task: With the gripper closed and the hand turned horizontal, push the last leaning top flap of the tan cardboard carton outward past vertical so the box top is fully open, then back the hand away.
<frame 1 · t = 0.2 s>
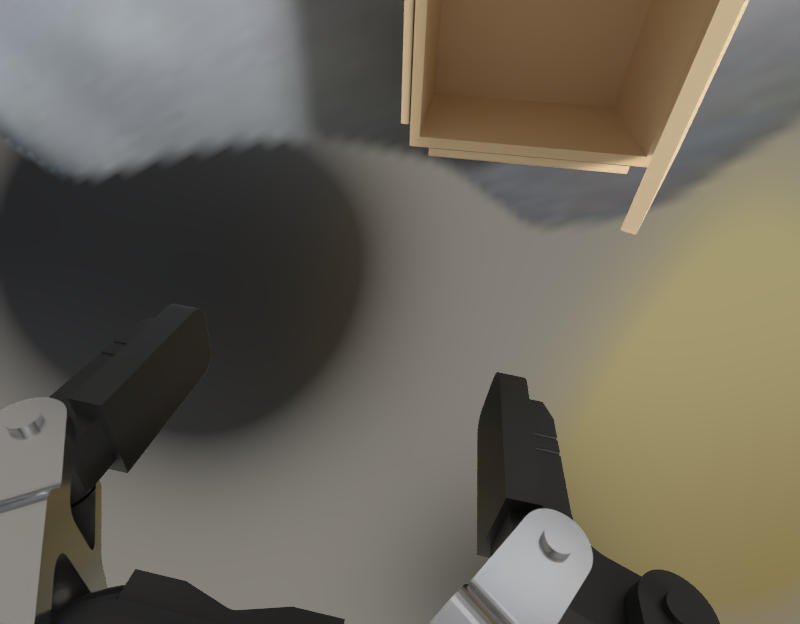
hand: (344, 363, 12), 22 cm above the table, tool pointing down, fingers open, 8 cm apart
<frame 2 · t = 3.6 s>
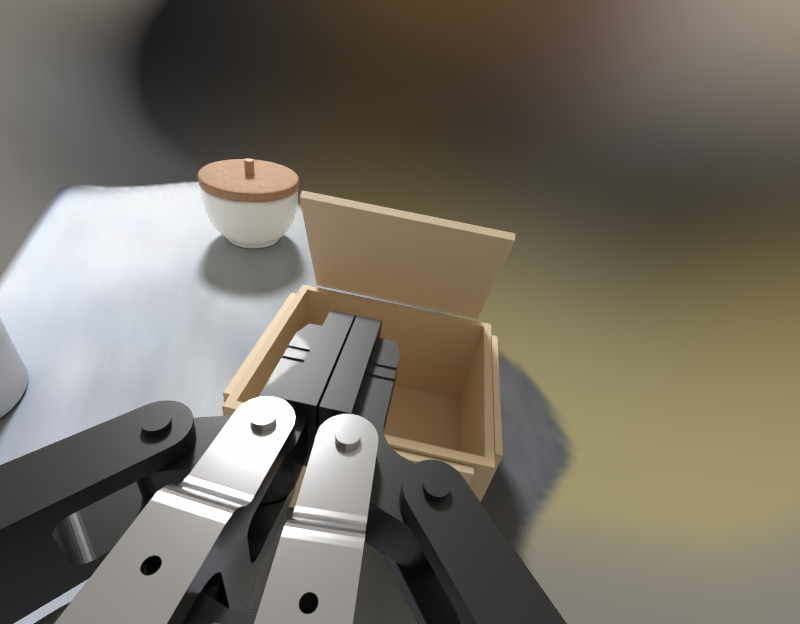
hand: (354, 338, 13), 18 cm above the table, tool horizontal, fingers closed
lidded jar: (253, 238, 52), on the table
carton: (367, 439, 31), on the table
flap: (401, 263, 27), point 12 cm above the table, hinge at 25.0°
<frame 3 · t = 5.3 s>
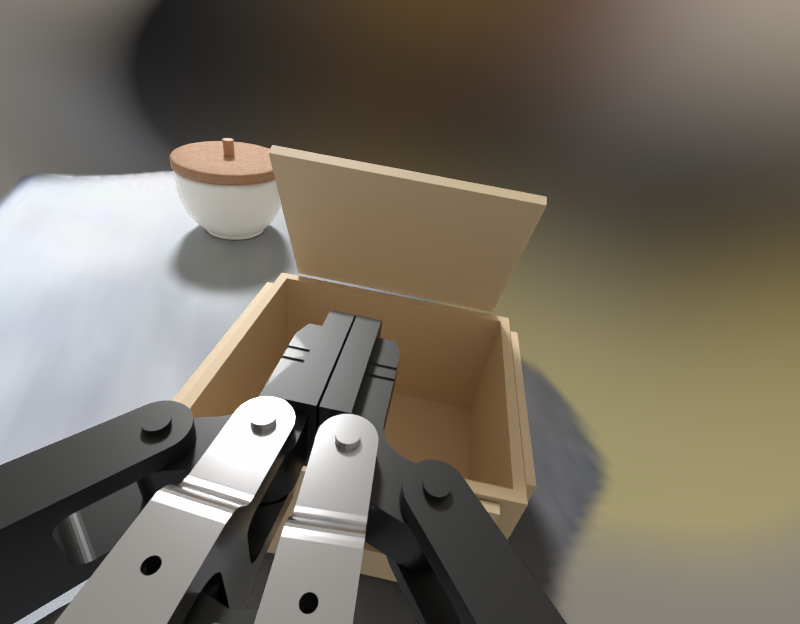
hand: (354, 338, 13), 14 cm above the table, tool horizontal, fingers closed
lidded jar: (235, 229, 47), on the table
carton: (360, 458, 25), on the table
flap: (399, 241, 22), point 12 cm above the table, hinge at 25.0°
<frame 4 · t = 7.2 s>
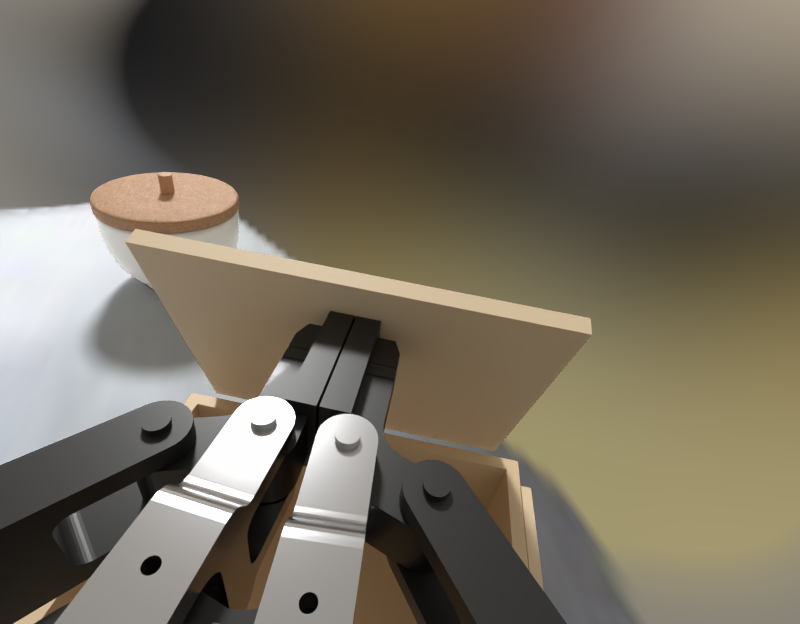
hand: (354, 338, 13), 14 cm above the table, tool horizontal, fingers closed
lidded jar: (182, 277, 39), on the table
flap: (355, 365, 14), point 12 cm above the table, hinge at 19.0°, touching gripper
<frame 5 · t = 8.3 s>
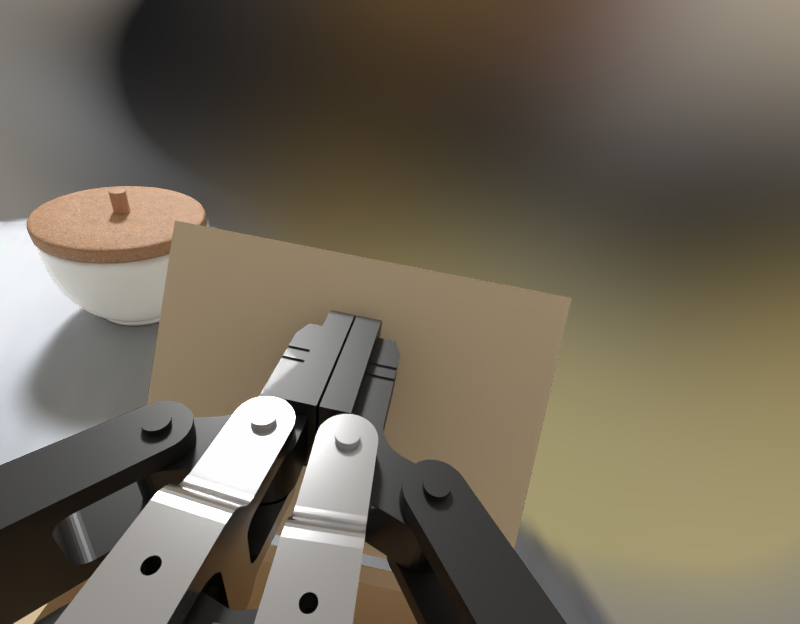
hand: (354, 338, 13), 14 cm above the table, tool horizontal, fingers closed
lidded jar: (145, 304, 35), on the table
flap: (343, 402, 13), point 12 cm above the table, hinge at -30.9°, touching gripper
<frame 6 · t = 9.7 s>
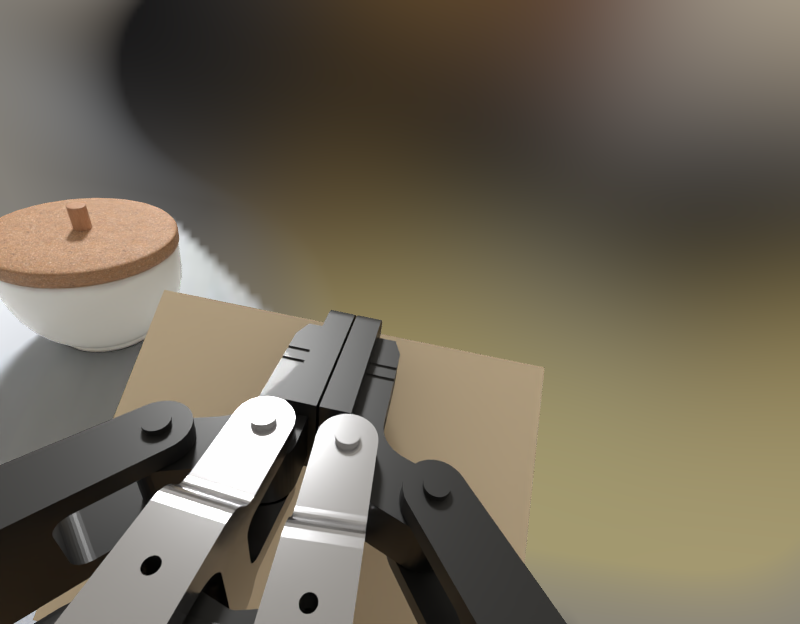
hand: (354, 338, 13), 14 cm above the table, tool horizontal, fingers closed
lidded jar: (114, 327, 32), on the table
flap: (314, 481, 12), point 11 cm above the table, hinge at -52.8°, touching gripper
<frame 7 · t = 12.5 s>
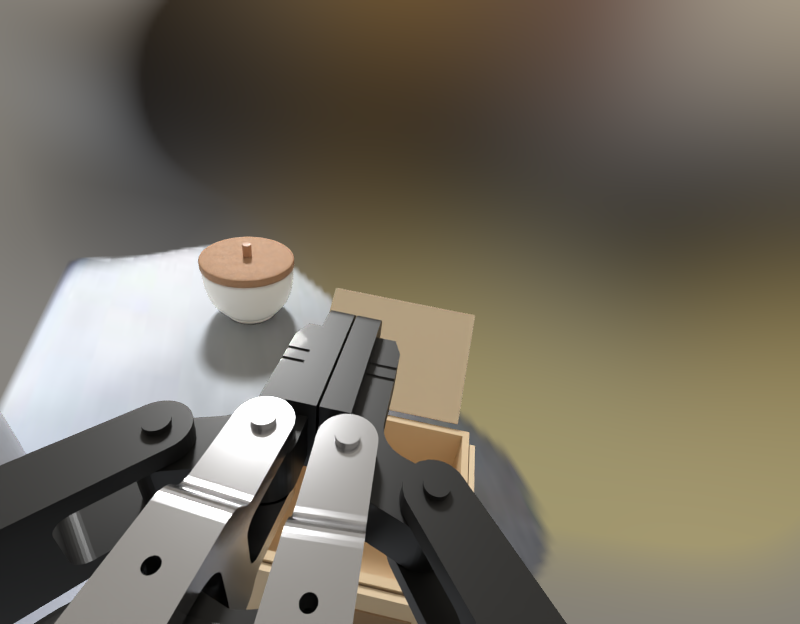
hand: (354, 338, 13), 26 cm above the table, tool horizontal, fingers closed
lidded jar: (252, 310, 55), on the table
carton: (355, 540, 33), on the table
flap: (393, 353, 35), point 11 cm above the table, hinge at -52.8°
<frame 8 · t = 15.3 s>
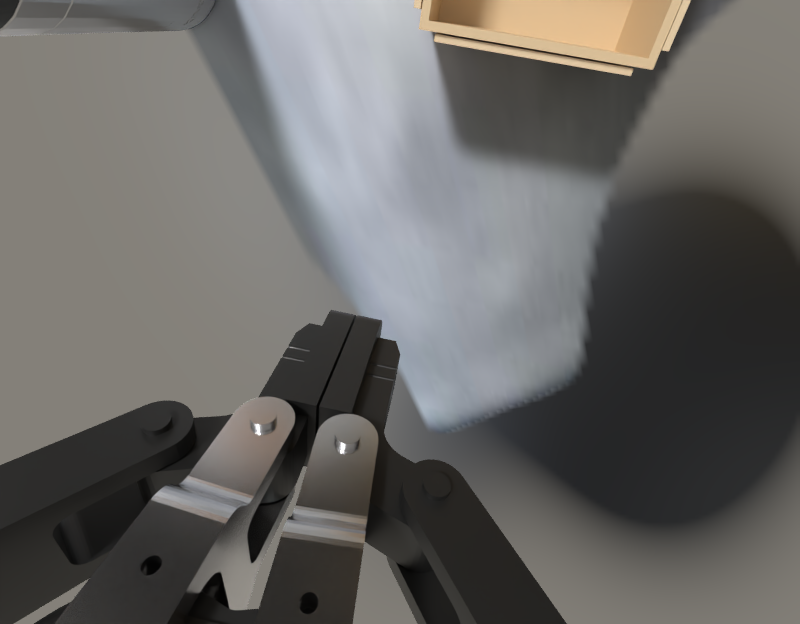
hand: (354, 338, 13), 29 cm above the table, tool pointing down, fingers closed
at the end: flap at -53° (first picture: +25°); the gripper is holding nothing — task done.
